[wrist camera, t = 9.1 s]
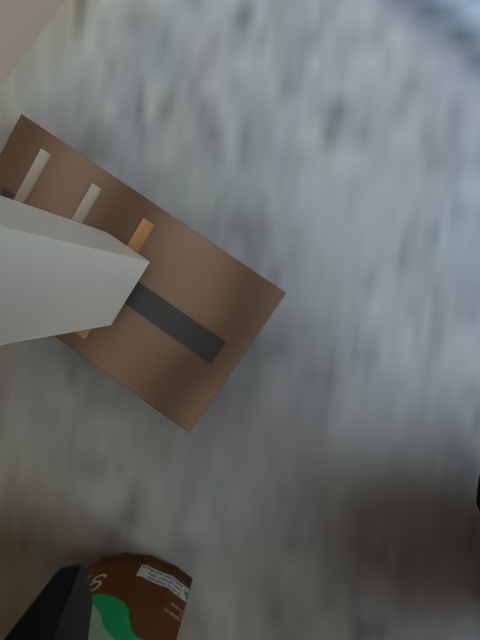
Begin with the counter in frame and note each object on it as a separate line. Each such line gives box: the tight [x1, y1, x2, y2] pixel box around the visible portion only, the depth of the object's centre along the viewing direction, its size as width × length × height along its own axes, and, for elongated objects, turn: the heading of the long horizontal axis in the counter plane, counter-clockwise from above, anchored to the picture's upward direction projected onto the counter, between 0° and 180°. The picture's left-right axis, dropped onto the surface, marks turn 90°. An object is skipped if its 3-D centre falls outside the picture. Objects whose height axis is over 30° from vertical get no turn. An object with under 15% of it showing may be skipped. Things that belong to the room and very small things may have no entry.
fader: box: [0, 195, 150, 345], centre depth 11 cm, size 2×4×9 cm
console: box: [0, 114, 286, 433], centre depth 17 cm, size 15×8×3 cm, turn 56°
